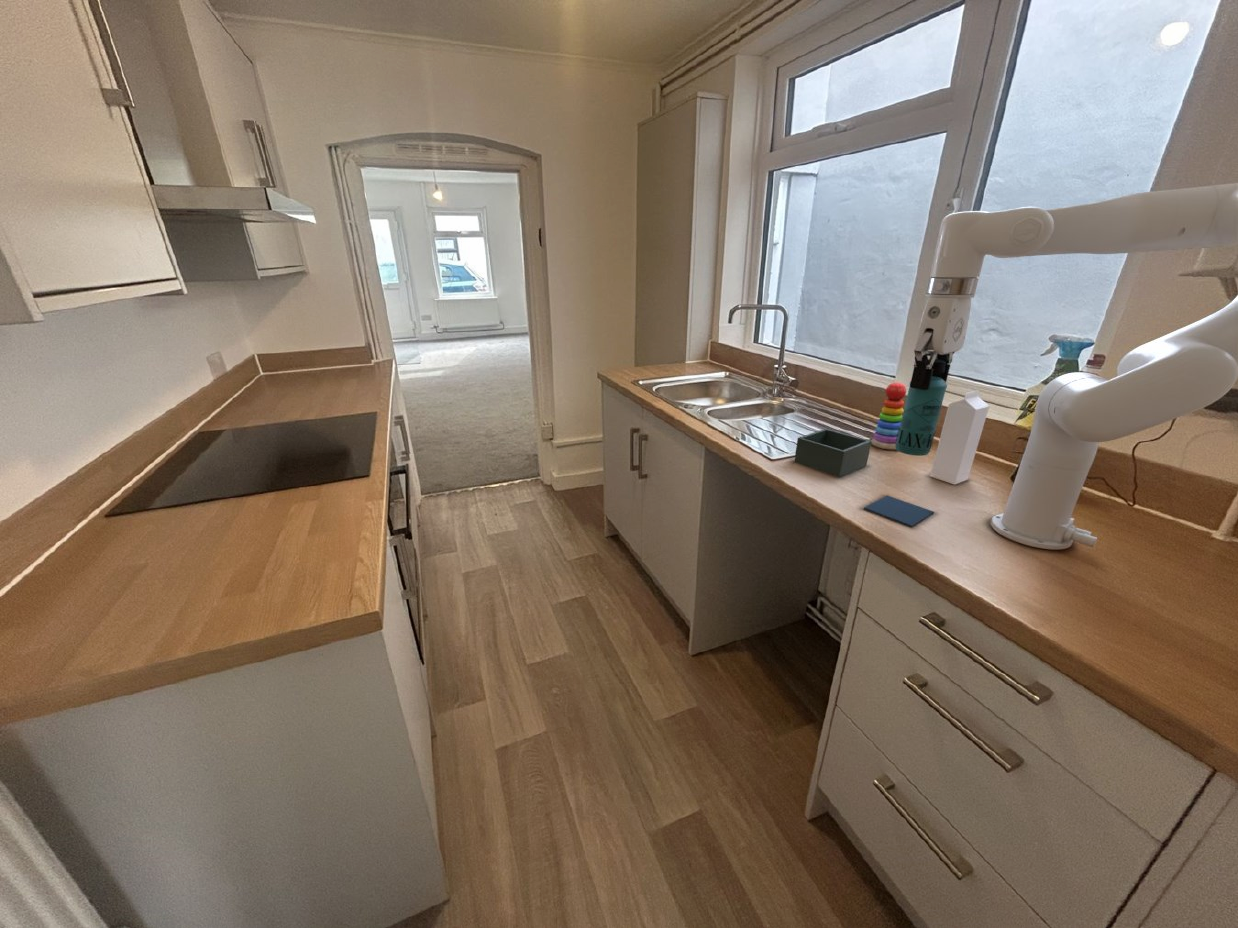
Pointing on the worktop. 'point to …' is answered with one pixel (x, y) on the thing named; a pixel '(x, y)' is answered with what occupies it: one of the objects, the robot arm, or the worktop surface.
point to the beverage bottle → (921, 415)
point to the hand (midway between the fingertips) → (927, 385)
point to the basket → (832, 452)
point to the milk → (959, 439)
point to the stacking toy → (890, 417)
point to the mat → (899, 511)
